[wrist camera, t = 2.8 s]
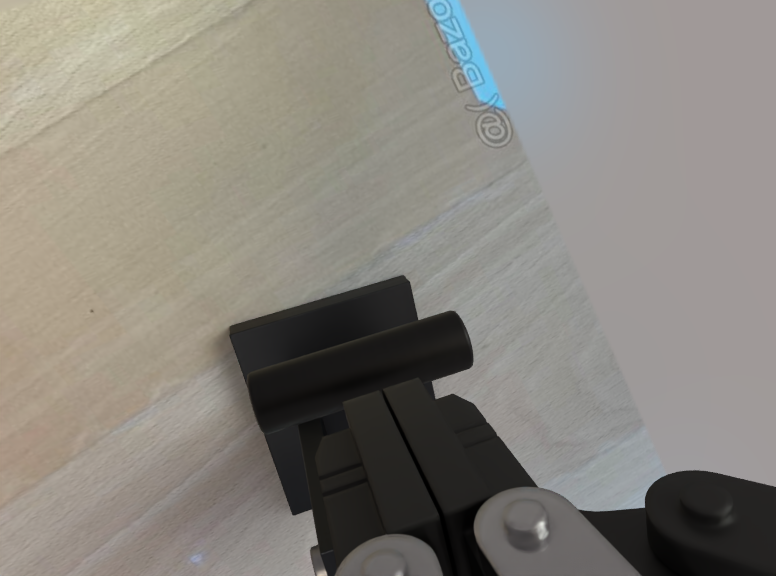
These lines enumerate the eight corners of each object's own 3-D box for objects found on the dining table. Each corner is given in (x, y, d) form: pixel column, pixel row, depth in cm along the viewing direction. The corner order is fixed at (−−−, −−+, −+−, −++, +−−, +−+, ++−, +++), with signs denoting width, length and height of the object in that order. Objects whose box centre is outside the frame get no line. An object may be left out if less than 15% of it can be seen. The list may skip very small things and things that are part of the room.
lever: (239, 345, 13) (254, 432, 11) (442, 284, 14) (484, 357, 12) (328, 545, 22) (343, 611, 20) (450, 501, 22) (475, 561, 21)
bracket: (229, 325, 28) (220, 491, 16) (403, 274, 29) (514, 391, 17) (291, 502, 32) (320, 740, 20) (442, 449, 33) (554, 642, 21)
